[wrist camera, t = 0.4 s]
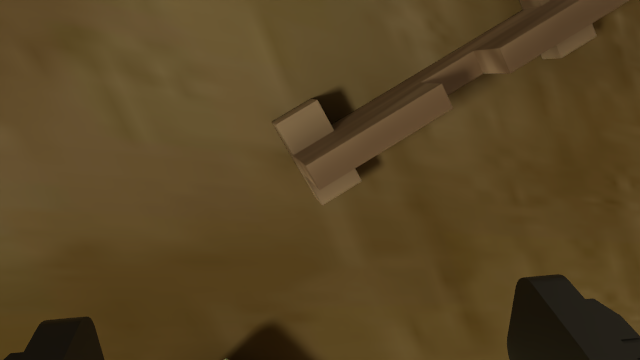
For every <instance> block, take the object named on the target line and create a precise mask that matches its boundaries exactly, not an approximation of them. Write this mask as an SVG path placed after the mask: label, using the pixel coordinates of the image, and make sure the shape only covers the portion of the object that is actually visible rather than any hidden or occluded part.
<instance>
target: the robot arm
mask: <svg viewBox="0 0 640 360" xmlns="http://www.w3.org/2000/svg"><path fill="white" fill-rule="evenodd" d="M507 349H508V355H509V359H510V360H640V336H639V335H638V334H637V333H636V332H635V331H634V329H633V328H632V327H631V326H630V325H629V324H628V323H627V322H626V321H625V320H624V319H623V318H622V317H621V316H620V315H619V314H617V313H615V312H614V311H612V310H611V309H609V308H608V307H606V306H604V305H603V304H601V303H600V302H598V301H596V300H595V299H584V297H583V296H582V295H581V294H580V293H579V292H578V291H577V289H576V288H575V287H574V286H573V285H572V284H571V283H570V281H569V280H568V279H567V278H566V277H564V276H563V275H559V274H557V275H546V276H536V277H525V278H521V279H519V281H518V282H517V285H516V289H515V295H514V301H513V307H512V313H511V319H510V325H509V331H508V337H507ZM4 360H104V357H103V354H102V350H101V347H100V343H99V340H98V336H97V333H96V330H95V326H94V323H93V321H92V320H91V318H89V317H77V318H66V319H55V320H46V321H43V322H41V324H40V325H39V326H38V328H37V329H36V331H35V333H34V335H33V336H32V338H31V340H30V342H29V344H28V345H27V347H26V349H25V351H24V352H20V353H10V354H9V355H8V356H7V357H6V358H5V359H4Z"/></svg>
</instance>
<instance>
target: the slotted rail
mask: <svg viewBox="0 0 640 360" xmlns="http://www.w3.org/2000/svg"><path fill="white" fill-rule="evenodd" d="M519 1H520V4H521V6H522V9H523V10H522V11H520V12H518V13H517V14H515V15H513V16H512V17H510V18H508V19H507V20H505V21H503V22H502V23H500V24H498V25H497V26H495V27H493V28H492V29H490V30H488V31H487V32H485V33H483V34H482V35H480V36H478V37H477V38H475V39H473V40H472V41H470V42H468V43H467V44H465V45H463V46H462V47H460V48H458V49H457V50H455V51H453V52H452V53H450V54H449V55H447V56H445V57H444V58H442V59H440V60H439V61H437V62H435V63H434V64H432V65H430V66H429V67H427V68H425V69H424V70H422V71H420V72H419V73H417V74H415V75H414V76H412V77H410V78H409V79H407V80H405V81H404V82H402V83H400V84H399V85H397V86H395V87H394V88H392V89H390V90H389V91H387V92H385V93H384V94H382V95H380V96H379V97H377V98H375V99H374V100H372V101H370V102H369V103H367V104H365V105H364V106H362V107H360V108H359V109H357V110H355V111H354V112H352V113H350V114H349V115H347V116H345V117H344V118H342V119H340V120H339V121H337V122H335V123H334V124H332V125H331V124H330V122H329V120H328V118H327V117H326V115H325V113H324V111H323V109H322V107H321V106H320V104H319V102H318V100H315V99H309V100H308V101H306V102H304V103H303V104H301V105H299V106H297V107H296V108H294V109H292V110H291V111H289V112H287V113H286V114H284V115H282V116H281V117H279V118H277V119H276V120H274V121H272V124H273V126H274V127H275V129H276V131H277V132H278V134H279V136H280V138H281V139H282V141H283V143H284V144H285V146H286V148H287V149H288V151H289V153H290V155H291V156H292V158H293V160H294V161H295V163H296V165H297V167H298V168H299V170H300V172H301V173H302V175H303V177H304V179H305V180H306V182H307V184H308V185H309V187H310V189H311V191H312V192H313V194H314V196H315V197H316V199H317V200H318V201H319V202H320V203H321V204H322V205H324V204H325V203H327V202H329V201H330V200H332V199H333V198H335V197H337V196H338V195H340V194H342V193H343V192H345V191H346V190H348V189H350V188H351V187H353V186H355V185H356V184H358V183H359V182H361V181H362V180H361V178H360V177H359V175H358V173H357V171H356V169H355V168H357V167H358V166H360V165H362V164H363V163H365V162H366V161H368V160H370V159H371V158H373V157H375V156H376V155H378V154H380V153H381V152H383V151H384V150H386V149H388V148H389V147H391V146H393V145H394V144H396V143H397V142H399V141H401V140H402V139H404V138H406V137H407V136H409V135H411V134H412V133H414V132H415V131H417V130H419V129H420V128H422V127H424V126H425V125H427V124H428V123H430V122H432V121H433V120H435V119H437V118H438V117H440V116H442V115H443V114H445V113H446V112H448V111H450V110H451V109H453V107H452V104H451V102H450V100H449V98H448V96H447V95H449V94H451V93H452V92H454V91H456V90H457V89H459V88H460V87H462V86H464V85H465V84H467V83H469V82H470V81H472V80H474V79H475V78H477V77H479V76H480V75H482V74H488V73H512V72H513V71H515V70H517V69H518V68H520V67H522V66H523V65H525V64H526V63H528V62H530V61H531V60H533V59H535V58H536V57H538V56H539V55H541V56H542V59H554V58H562V57H564V56H566V55H567V54H569V53H570V52H572V51H574V50H575V49H577V48H579V47H580V46H582V45H583V44H585V43H587V42H588V41H590V40H592V39H593V38H595V37H596V36H597V35H596V32H595V30H594V27H593V24H592V23H593V22H595V21H597V20H598V19H600V18H602V17H603V16H605V15H606V14H608V13H610V12H611V11H613V10H615V9H616V8H618V7H619V6H621V5H623V4H624V3H626V2H628V1H629V0H519Z"/></svg>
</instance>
